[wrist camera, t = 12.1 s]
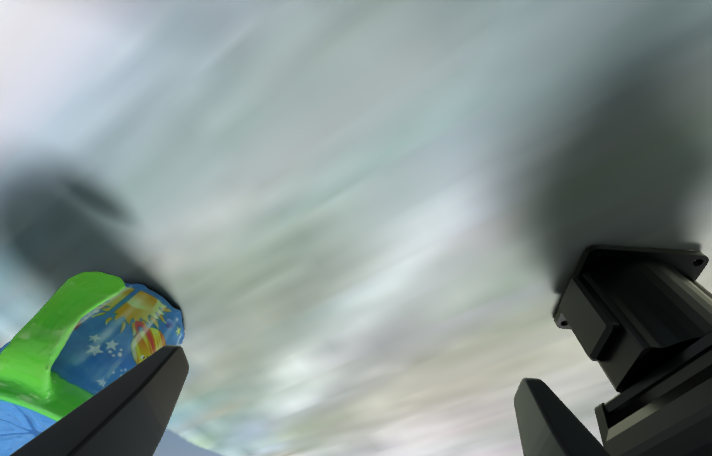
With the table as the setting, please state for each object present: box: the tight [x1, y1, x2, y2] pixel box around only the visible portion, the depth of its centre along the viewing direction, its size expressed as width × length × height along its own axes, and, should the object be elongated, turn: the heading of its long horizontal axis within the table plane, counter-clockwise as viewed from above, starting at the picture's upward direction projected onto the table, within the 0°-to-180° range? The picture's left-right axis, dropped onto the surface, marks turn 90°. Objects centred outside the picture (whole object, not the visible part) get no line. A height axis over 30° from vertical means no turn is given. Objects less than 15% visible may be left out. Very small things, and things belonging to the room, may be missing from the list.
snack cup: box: [0, 271, 184, 456], centre depth 22 cm, size 16×10×10 cm
